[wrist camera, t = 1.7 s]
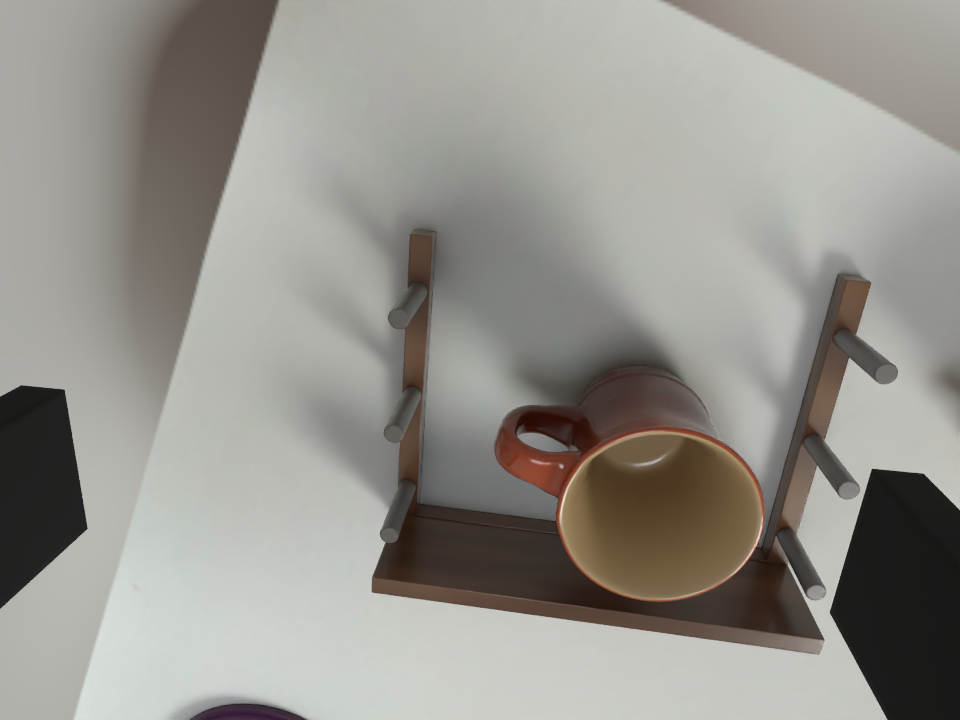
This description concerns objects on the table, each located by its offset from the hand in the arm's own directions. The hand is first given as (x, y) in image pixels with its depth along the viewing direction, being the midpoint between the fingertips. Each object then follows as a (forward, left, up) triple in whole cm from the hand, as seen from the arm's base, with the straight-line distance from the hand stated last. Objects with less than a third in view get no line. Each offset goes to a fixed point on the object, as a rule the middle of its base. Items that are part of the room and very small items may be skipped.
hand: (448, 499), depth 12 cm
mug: (+10, +6, -27) cm, 29 cm away
